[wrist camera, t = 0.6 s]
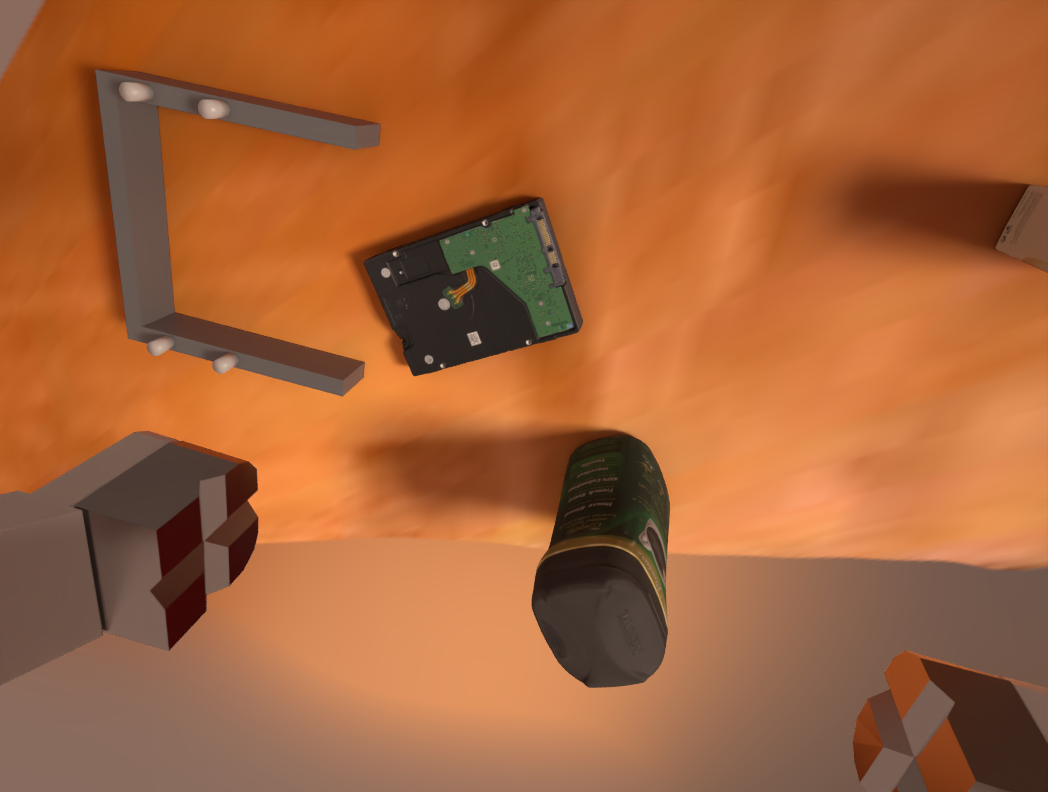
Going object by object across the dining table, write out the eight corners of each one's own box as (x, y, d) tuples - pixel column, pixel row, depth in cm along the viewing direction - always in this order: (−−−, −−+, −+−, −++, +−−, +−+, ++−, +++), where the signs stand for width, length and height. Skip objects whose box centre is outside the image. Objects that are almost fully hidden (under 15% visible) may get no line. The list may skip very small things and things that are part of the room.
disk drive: (426, 367, 55) (587, 321, 50) (414, 380, 53) (581, 333, 47) (375, 253, 52) (542, 192, 46) (360, 262, 49) (534, 197, 44)
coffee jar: (557, 445, 55) (506, 594, 38) (645, 422, 52) (632, 572, 36) (595, 534, 58) (562, 707, 41) (680, 517, 55) (682, 695, 39)
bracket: (137, 71, 49) (73, 68, 43) (380, 124, 46) (343, 127, 41) (161, 323, 58) (111, 345, 53) (363, 377, 56) (332, 405, 51)
